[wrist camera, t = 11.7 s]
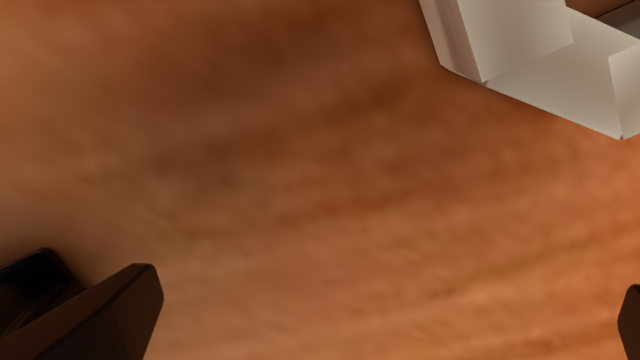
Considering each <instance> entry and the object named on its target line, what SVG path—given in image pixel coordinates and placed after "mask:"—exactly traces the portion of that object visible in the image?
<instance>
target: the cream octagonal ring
mask: <svg viewBox="0 0 640 360" xmlns="http://www.w3.org/2000/svg"><path fill="white" fill-rule="evenodd" d="M419 2H420V5H421V8H422V11H423V14H424V17H425V20H426V23H427V26H428V29H429V32H430V35H431V38H432V41H433V44H434V47H435V50H436V53H437V56H438V59H439V62H440V65H442V66H444V67H443V68H445V69H448V70H450V71H452V72H454V73H456V74H459V75H461V76H463V77H465V78H468V79H470V80H472V81H474V82H477V83H479V84H481V85H483V86H485V87H488V88H490V89H493V90H495V91H498V92H500V93H503V94H505V95H508V96H510V97H513V98H515V99H518V100H520V101H523V102H525V103H528V104H530V105H533V106H535V107H538V108H540V109H543V110H545V111H548V112H550V113H553V114H555V115H558V116H560V117H563V118H565V119H567V120H570V121H572V122H575V123H577V124H580V125H582V126H585V127H587V128H590V129H592V130H595V131H597V132H600V133H602V134H605V135H607V136H610V137H612V138H615V139H617V140H619V139H623V140H624V139H627V138H629V137H632V136H634V135H637V134H639V133H640V0H635V1H634V2H632V3H629V4H627V5H625V6H623V7H620V8H618V9H616V10H614V11H611V12H609V13H607V14H605V15H602V16H600V17H598V18H596V19H593V18H591V17H589V16H586V15H584V14H582V13H580V12H578V11H575V10H573V9H571V8H569V7H567V6H566V4H565V0H419Z"/></svg>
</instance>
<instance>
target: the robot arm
mask: <svg viewBox="0 0 640 360" xmlns="http://www.w3.org/2000/svg"><path fill="white" fill-rule="evenodd" d="M41 257H43V258H45V259H46V260H47V261H48V262H45V261H43V260H42V259H41ZM163 301H164V294H163V290H162V287H161V284H160V281H159V278H158V274H157V271H156V269H155V267H154V266H153V265H152V264H147V263H133V264H131V265H129V266H127V267H126V268H124V269H122V270H120V271H119V272H117V273H115V274H114V275H112V276H110V277H108V278H107V279H105V280H103V281H102V282H100V283H98V284H96V285H95V286H93V287H91V288H90V289H88V290H86V291H85V290H84V289H83V287H82V286H81V285H80V284H79V282H78V281H77V280H76V279H75V277H74V276H73V275H72V273H71V272H70V271H69V270H68V268H67V267H66V266H65V265H64V263H63V262H62V261H61V260H60V258H59V257H58V256H57V254H56V253H55V252H54V251H52V250H50V249H48V248H42V249H39V250H36V251H34V252H32V253H30V254H28V255H25V256H23V257H21V258H19V259H16V260H14V261H12V262H10V263H8V264H5V265H3V266H1V267H0V360H143V357H144V355H145V352H146V349H147V347H148V344H149V341H150V338H151V336H152V333H153V330H154V327H155V325H156V322H157V319H158V317H159V314H160V311H161V308H162V305H163ZM618 331H619V334H620V337H621V340H622V343H623V346H624V349H625V352H626V355H627V358H628V360H640V284H633V285H631V286H630V287H629V288H628V290H627V292H626V295H625V298H624V301H623V304H622V307H621V310H620V313H619V316H618Z"/></svg>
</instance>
